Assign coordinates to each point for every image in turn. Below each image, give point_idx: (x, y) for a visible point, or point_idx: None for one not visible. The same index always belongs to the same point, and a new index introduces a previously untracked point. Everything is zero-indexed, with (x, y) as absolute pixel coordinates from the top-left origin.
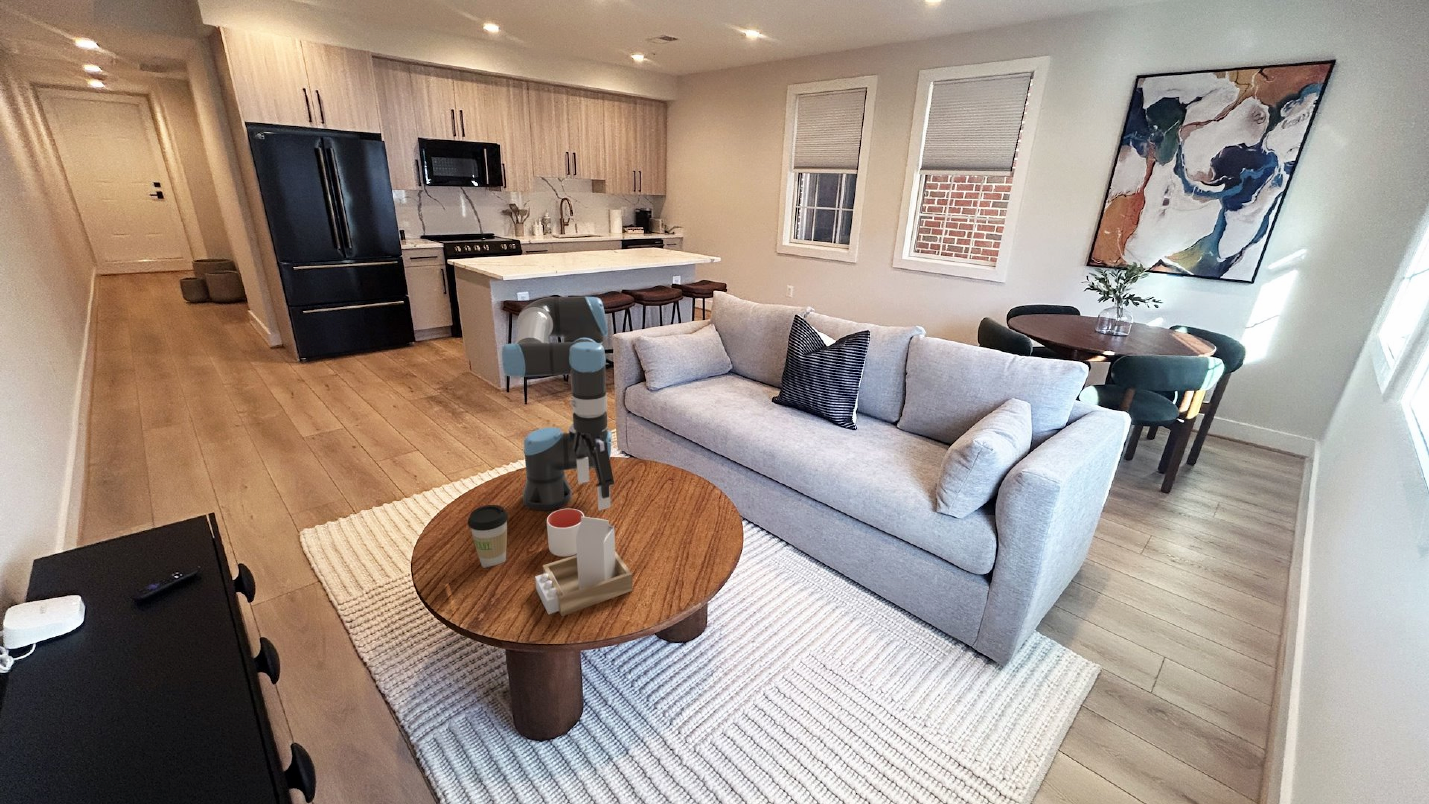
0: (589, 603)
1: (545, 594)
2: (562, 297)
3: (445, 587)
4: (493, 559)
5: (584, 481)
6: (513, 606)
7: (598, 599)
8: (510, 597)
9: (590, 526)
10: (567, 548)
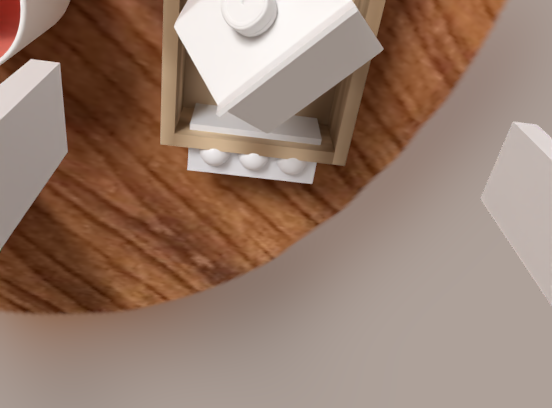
0: None
1: (284, 177)
2: None
3: (57, 289)
4: None
5: (60, 112)
6: (211, 202)
7: None
8: (173, 196)
9: (280, 79)
10: (61, 2)
